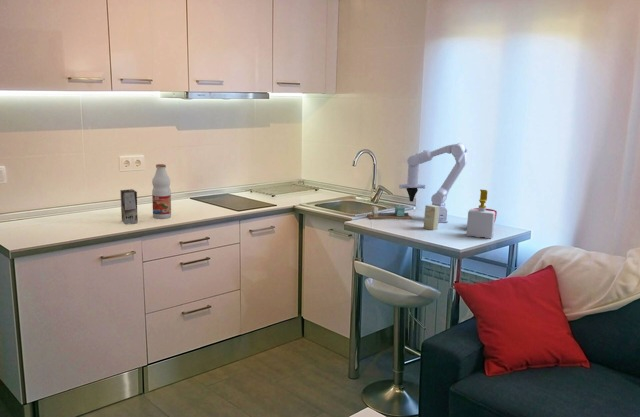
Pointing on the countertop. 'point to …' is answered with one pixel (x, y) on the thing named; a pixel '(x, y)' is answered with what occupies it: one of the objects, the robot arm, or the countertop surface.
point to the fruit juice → (161, 193)
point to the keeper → (399, 210)
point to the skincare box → (431, 217)
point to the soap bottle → (481, 219)
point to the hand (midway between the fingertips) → (411, 201)
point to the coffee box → (129, 206)
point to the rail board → (386, 215)
